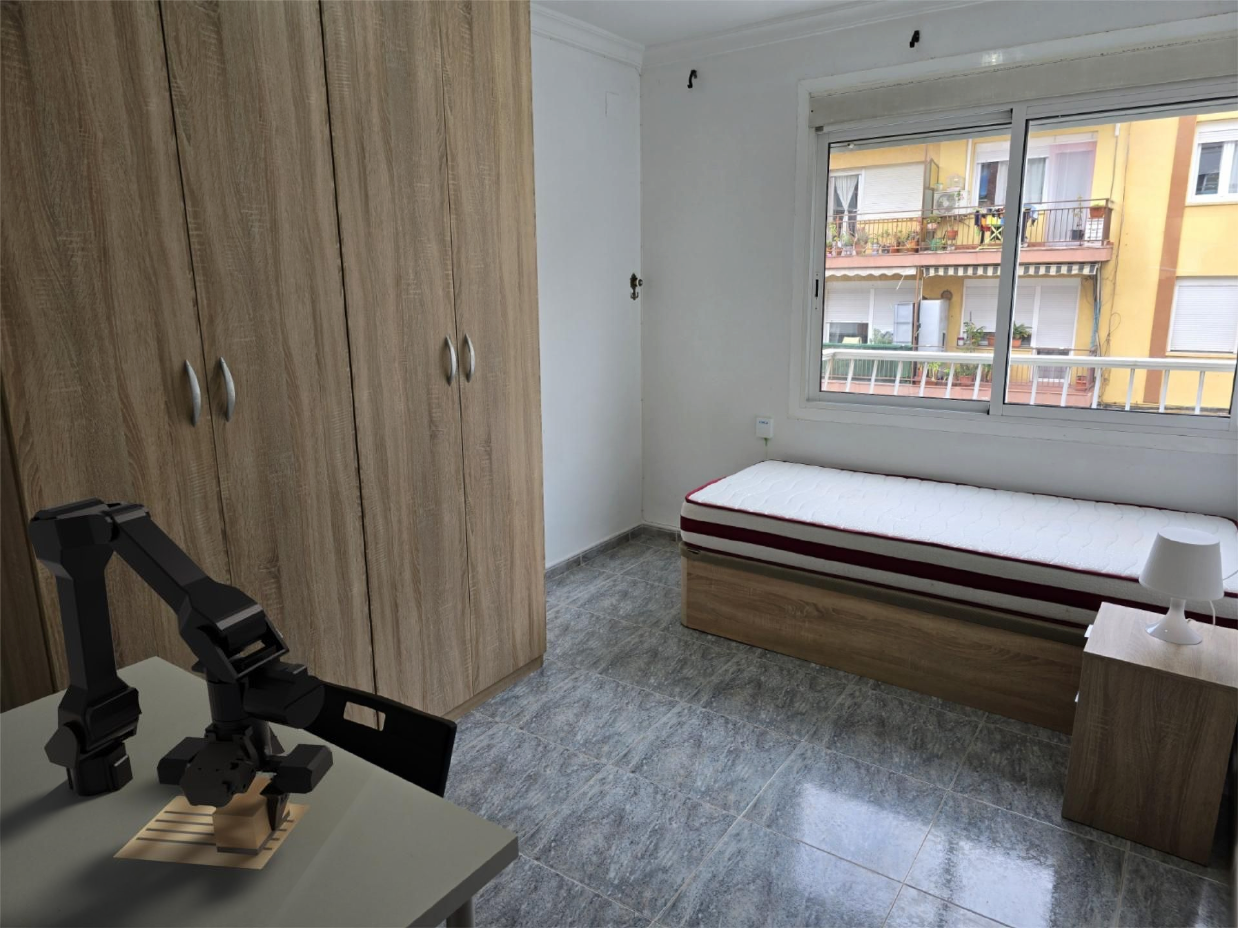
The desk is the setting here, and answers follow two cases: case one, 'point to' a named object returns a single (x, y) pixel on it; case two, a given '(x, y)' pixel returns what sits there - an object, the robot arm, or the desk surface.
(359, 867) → the desk surface
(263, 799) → the block
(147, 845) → the pine board
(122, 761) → the robot arm
